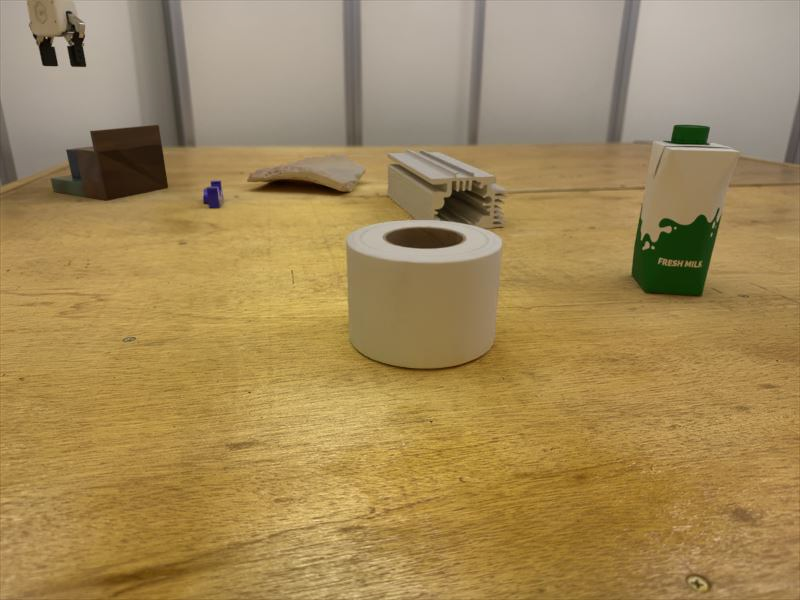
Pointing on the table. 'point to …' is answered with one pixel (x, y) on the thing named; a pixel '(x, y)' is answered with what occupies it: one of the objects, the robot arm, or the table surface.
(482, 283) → the tape roll
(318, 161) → the pottery shard
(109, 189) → the rack
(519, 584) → the table surface
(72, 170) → the rectangular block
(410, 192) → the aluminum extrusion profile
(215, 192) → the cable holder
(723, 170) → the milk carton
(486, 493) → the table surface
